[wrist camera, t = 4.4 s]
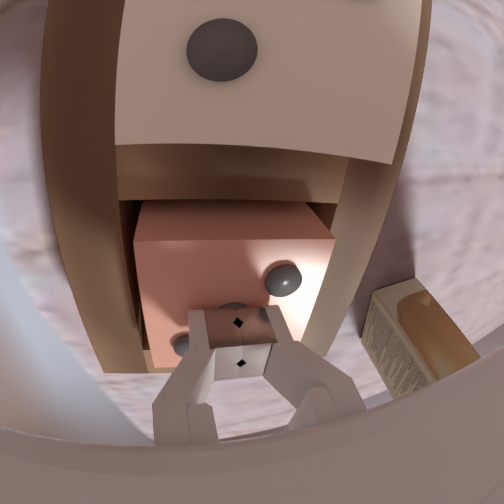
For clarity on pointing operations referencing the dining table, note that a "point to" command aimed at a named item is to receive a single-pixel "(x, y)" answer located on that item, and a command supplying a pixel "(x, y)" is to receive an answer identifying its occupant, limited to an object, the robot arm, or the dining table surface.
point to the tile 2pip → (267, 74)
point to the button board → (181, 186)
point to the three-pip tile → (225, 263)
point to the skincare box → (413, 338)
